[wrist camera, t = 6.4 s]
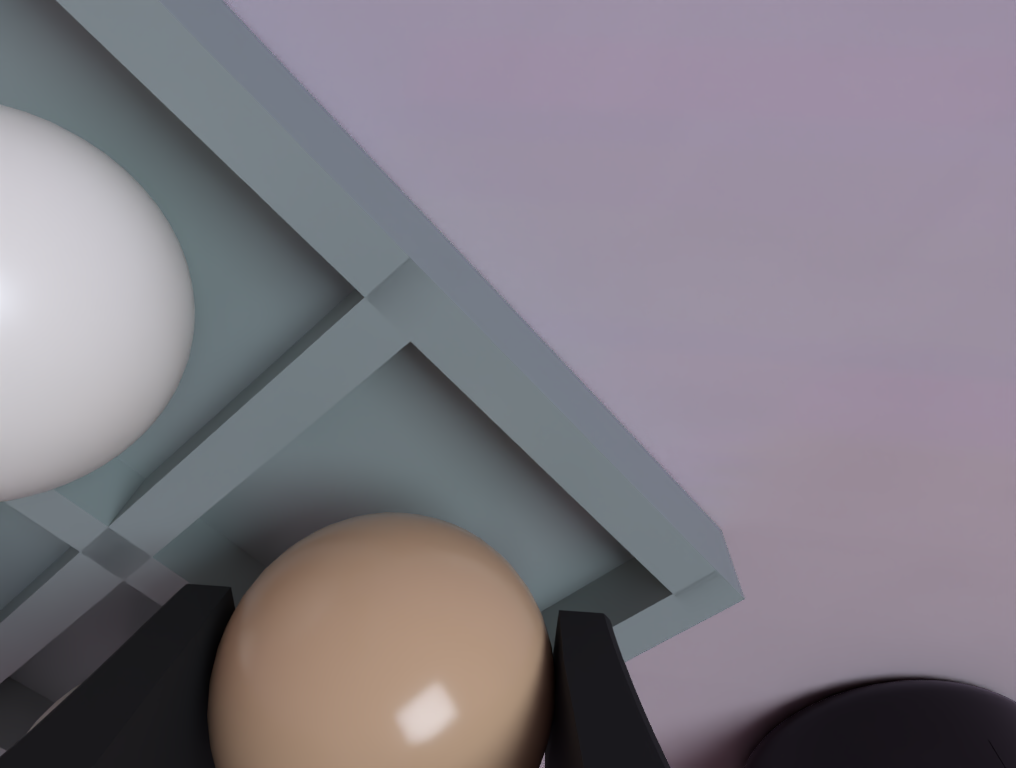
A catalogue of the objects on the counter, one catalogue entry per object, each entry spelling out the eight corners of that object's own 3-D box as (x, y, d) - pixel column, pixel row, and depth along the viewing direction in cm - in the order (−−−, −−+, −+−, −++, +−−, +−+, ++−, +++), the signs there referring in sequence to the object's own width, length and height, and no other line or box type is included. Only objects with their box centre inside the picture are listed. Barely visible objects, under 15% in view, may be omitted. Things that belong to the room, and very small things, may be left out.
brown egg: (414, 689, 13) (362, 993, 9) (219, 548, 11) (53, 841, 7) (609, 576, 11) (646, 882, 7) (412, 394, 10) (331, 663, 6)
